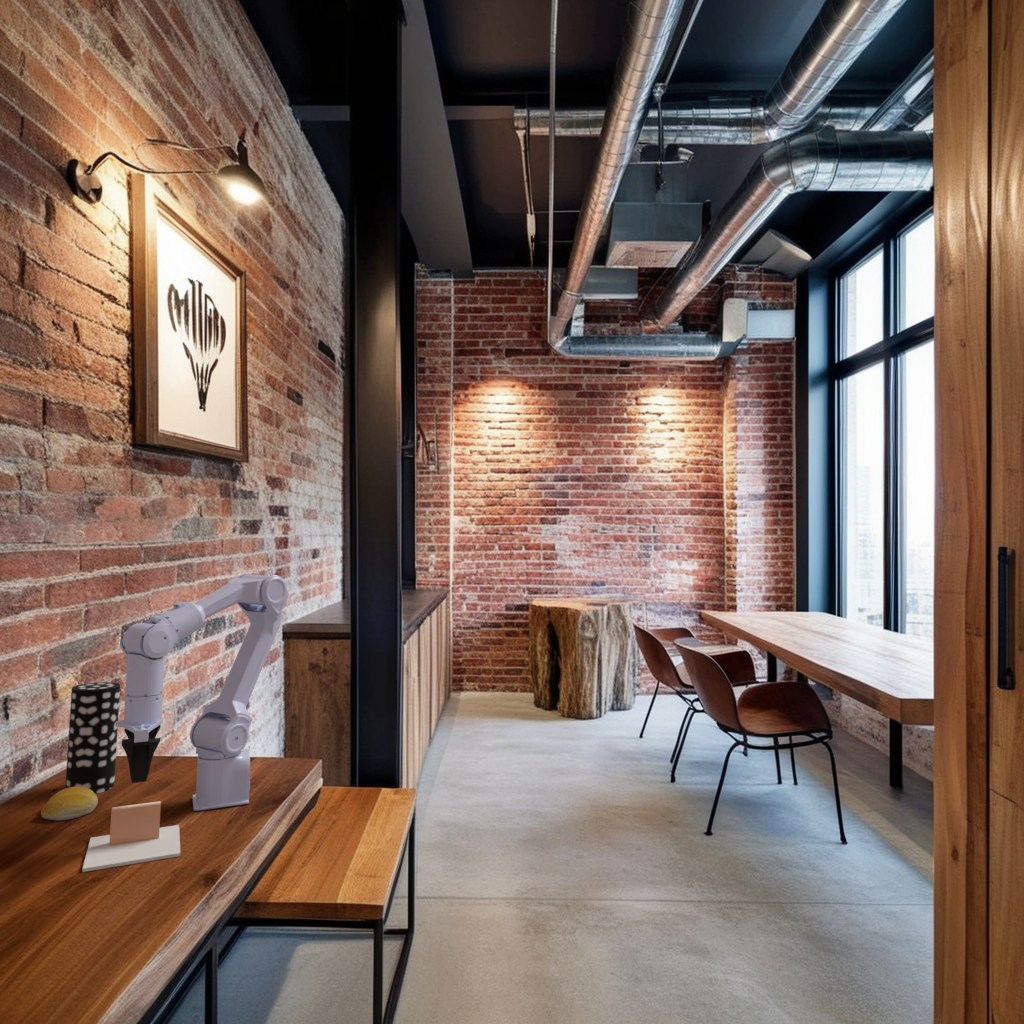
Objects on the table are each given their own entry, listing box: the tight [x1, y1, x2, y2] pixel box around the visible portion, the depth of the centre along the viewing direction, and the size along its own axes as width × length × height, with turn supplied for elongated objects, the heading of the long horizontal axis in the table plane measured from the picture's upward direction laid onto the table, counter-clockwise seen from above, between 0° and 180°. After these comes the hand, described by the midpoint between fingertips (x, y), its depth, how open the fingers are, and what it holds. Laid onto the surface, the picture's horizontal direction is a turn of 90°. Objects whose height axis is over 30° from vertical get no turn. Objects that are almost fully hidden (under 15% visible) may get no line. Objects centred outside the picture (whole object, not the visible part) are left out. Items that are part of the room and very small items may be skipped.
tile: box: [109, 800, 162, 846], centre depth 110 cm, size 7×1×6 cm, turn 117°
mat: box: [81, 824, 181, 873], centre depth 108 cm, size 13×12×1 cm
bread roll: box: [40, 787, 99, 821], centre depth 122 cm, size 8×9×4 cm
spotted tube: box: [64, 681, 121, 795], centre depth 135 cm, size 8×8×20 cm
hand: (139, 774), depth 115 cm, fingers open, 7 cm apart
